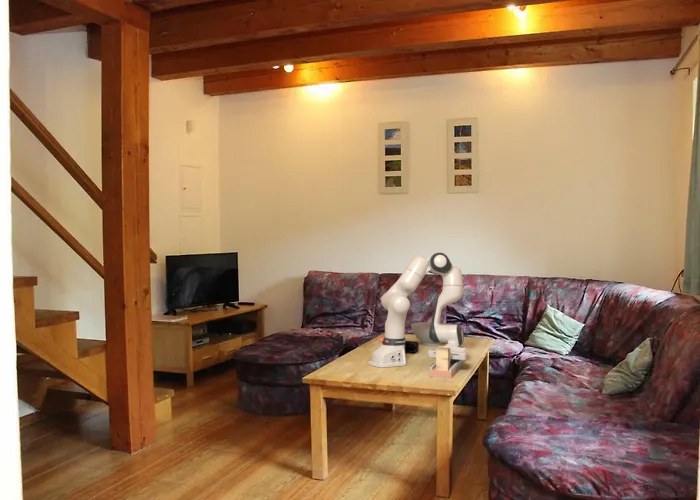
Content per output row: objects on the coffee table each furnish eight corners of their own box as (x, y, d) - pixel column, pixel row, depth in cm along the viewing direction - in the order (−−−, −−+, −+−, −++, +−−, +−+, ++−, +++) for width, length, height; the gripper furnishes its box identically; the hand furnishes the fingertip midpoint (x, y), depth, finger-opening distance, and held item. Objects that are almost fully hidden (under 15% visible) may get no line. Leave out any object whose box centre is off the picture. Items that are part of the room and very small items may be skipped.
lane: (443, 363, 336) (443, 355, 336) (463, 365, 332) (463, 357, 332) (429, 376, 306) (429, 367, 306) (451, 378, 302) (451, 369, 302)
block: (438, 367, 313) (438, 346, 313) (450, 368, 311) (450, 347, 311) (436, 369, 308) (436, 348, 307) (447, 370, 305) (448, 349, 305)
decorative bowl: (409, 339, 408) (410, 321, 408) (449, 340, 407) (450, 322, 407) (412, 347, 381) (412, 328, 381) (455, 348, 380) (455, 328, 380)
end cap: (418, 352, 367) (419, 340, 367) (415, 354, 361) (415, 342, 361) (403, 350, 371) (403, 339, 371) (399, 352, 365) (399, 341, 365)
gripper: (431, 344, 329) (424, 349, 316) (468, 347, 321) (463, 352, 308) (430, 356, 329) (424, 361, 316) (468, 359, 321) (463, 364, 308)
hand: (444, 357), depth 312 cm, fingers closed, pressing on block
